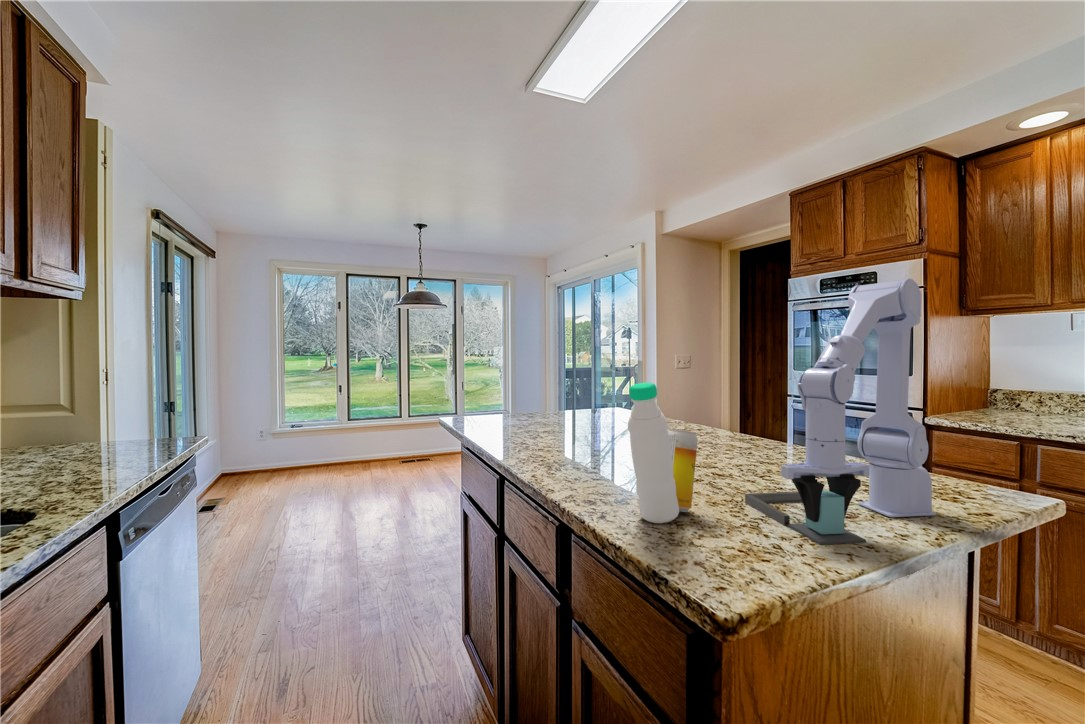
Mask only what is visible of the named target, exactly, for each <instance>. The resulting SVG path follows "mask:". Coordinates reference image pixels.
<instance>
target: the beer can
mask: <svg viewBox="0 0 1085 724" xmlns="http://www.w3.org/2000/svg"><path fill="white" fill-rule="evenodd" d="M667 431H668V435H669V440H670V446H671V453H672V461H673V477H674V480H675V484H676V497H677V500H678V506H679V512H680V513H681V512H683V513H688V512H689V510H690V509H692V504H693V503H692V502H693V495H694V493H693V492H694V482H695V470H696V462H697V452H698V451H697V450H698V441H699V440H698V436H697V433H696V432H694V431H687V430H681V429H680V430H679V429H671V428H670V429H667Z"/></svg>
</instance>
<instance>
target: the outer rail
mask: <svg viewBox="0 0 1085 724" xmlns="http://www.w3.org/2000/svg"><path fill="white" fill-rule="evenodd" d="M790 502H791V503H794V502H795V503H797V502H802V499H801V497H800V494H799V492H798V491H784V492H783V491H782V492H781V491H779V492H756V493H755V492H754V493H752V492H751V493H750V492H749V493H745V494H744V503H745V504H746V505H748V506H750V507H752V508H754V509H755V510H757V511H758V512H760V513H762V514H764V515H765V516H767V517H768V518H770V519H771V520H774V521H776V522H777V523H779V524H781V525H783V526H784V527H785V526H786V527H788V524H791V523H790V521H791V519H790V517H791V516H790V515H789V514H787V513H785V512H783V511H782V510H779V509H778V508H776V507H774V506H772V505H771V504H770V503H773V504H774V503H790Z"/></svg>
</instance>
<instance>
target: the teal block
mask: <svg viewBox="0 0 1085 724" xmlns="http://www.w3.org/2000/svg"><path fill="white" fill-rule="evenodd" d="M804 513H805V512H804ZM804 516H805V518H804V519H805V525H806V526H807V527H809V528H811V529H813V530H815V531H816V532H818V533H820V534H840V533H844V529H845V519H844V497H843V496H840V495H838V494H835V493H833V492H830V491H829V489H823V491H822V494H821V499H820V516H819V521H818V522H813V521H811V520H809V519H807V517H806V513H805V515H804Z"/></svg>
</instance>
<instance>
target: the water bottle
mask: <svg viewBox="0 0 1085 724" xmlns="http://www.w3.org/2000/svg"><path fill="white" fill-rule="evenodd" d="M628 393H629V398H630V400H631V402H632V403H633V408H631V409H632V410H631V411H630V416H629V420H628V422H627V429H628V432H629V439H630V450H631V457H632V464H633V469H634V474H635V479H636V484H635V485H636V491H637V492H636V493H637V495H638V506H639V514H640V517H642V518H643V519H644V520H645V521H646V522H649V523H652V524H664V523H670V522H672V521H673V520H675V519H677V517H678V516H679V513H680V511H679V506H678V500H677V497H676V484H675V480H674V477H673V461H672V453H671V446H670V440H669V435H668V428H669V423H668V420H667V418H666V416H665V415H664V413H663V412H662V410H661V408H660V406H659V405H658V404H657V402H656V400H657V398H658V390H657V386H656V384H655V383H654V382H653V383H652V382H639V383H636V384H635V383H634V384H632V385H630V387H629V389H628Z"/></svg>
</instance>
